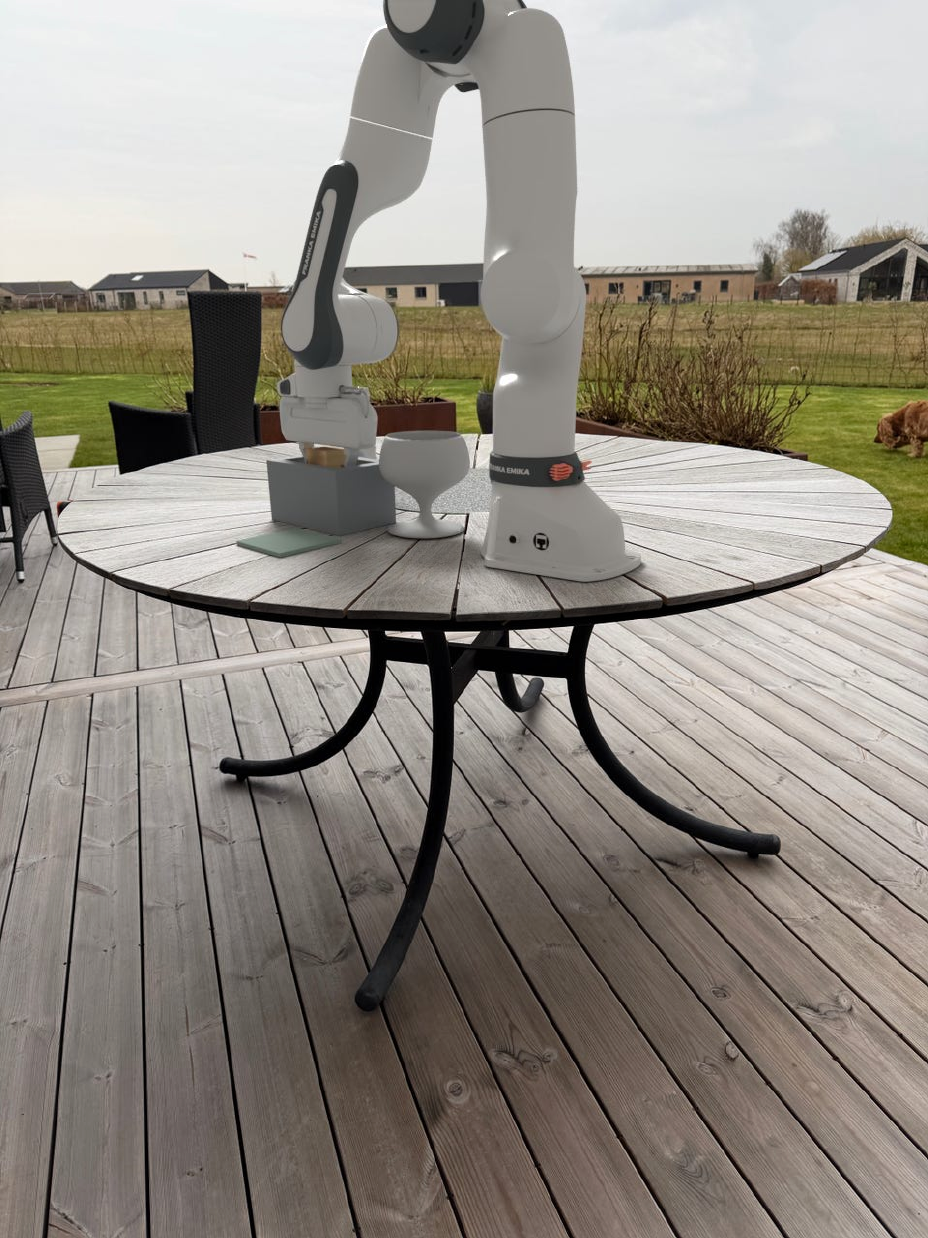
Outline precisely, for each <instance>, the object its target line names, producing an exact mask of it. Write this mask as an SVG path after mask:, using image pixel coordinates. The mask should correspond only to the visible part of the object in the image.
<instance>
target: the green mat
mask: <svg viewBox="0 0 928 1238" xmlns="http://www.w3.org/2000/svg"><path fill="white" fill-rule="evenodd" d="M235 542H236V543H235V544H236V546H240V547H242V548H243V547H244V548H246V549H250V550H254V551H256V552H261V553H262V554H263V553H264V554H266V555H267V554H268V555H271V556H273V557H278V558H284V557H288V556H291V555H297V554H301V553H305V552H309V551H314V550H317V549H321V548H325V547H329V546H333V545H338V544H342V538H341V537H340V538H339V537H335V536H331V535H328V534H323V533H319V532H315V531H310V530H307V529H303V528H301V527H300V528H298V527H295V528H290V529H285V530H281V531H275V532H271V533H266V534H263V535H257V536H253V537H248V538H244V539H238V540H236V541H235Z"/></svg>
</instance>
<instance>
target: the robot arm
mask: <svg viewBox="0 0 928 1238" xmlns="http://www.w3.org/2000/svg"><path fill="white" fill-rule="evenodd" d="M382 9H383V18H384V21H385V24H384V25H382V26H380V27H378V28H377V29H375V30H374V31H373V32H372V33H371V34H370V36H369V38H368V40H367V42H366V45H365V48H364V52H363V54H362V59H361V62H360V65H359V69H358V73H357V78H356V82H355V86H354V92H353V97H352V103H351V108H350V114H349V115H350V116H349V121H348V127H347V133H346V136H345V140H344V142H343V145H342V147H341V148H342V149H341V150H340V153H339V155H338V157H337V159H336V160H335V162H334V164H332V165H331V166H330V167H329V168H328V169H327V170H326V172H324V174H323V177H322V179H321V182H320V185H319V188H318V191H317V194H316V199H315V202H314V205H313V207H312V208H313V209H312V212H311V216H310V221H309V224H308V225H309V226H308V230H307V233H306V238H305V242H304V245H303V250H302V253H301V258H300V262H299V266H298V270H297V274H296V278H295V280H294V281H293V283H292V288H291V292H290V295H289V298H288V300H287V301H286V305H285V307H284V310H283V311H282V312H283V313H282V315H281V316H282V317H281V322H280V333H281V338H282V341H283V344H284V346H285V347H286V348H285V349H287V351H288V353H289V354H290V356H291V357H292V358H293V359H294V362H293V364H294V365H293V366H294V373H292V374H290V375H288V376H287V377H285V378H283V379H281V380H279V381H277V383H276V390H277V394H278V395H279V396H280V397H281V398H280V400H279V418H280V419H279V420H280V427H281V432H282V434H283V437H284V438H285V440H286V441H290V442H291V441H292V442H298V449H299V451H300V453H301V455H303V457H304V459H305V463H307V464H308V462H307V449H309V448H315V445H321V446H336V447H343V448H344V454H345V455H346V459H345V463H344V464H342V465H341V468H343V467H349V466H355V464H356V462H357V460H358V457H359V455H360V449H367V448H372V447H373V446H374V444H375V442H376V443H377V431H376V430H375V422H374V416H373V411H372V407H371V405H372V404H371V400H370V398H369V396H368V395H367V394H366V392H365V391H364V390H363V388H361V387H360V386H353V376H352V373H353V372H352V366H354V365H355V366H356V365H360V364H363V365H365V364H374V363H378V362H382V361H386V360H387V359H389V358H390V356H392V354H393V353H394V352H395V349H396V348H397V345H398V342H399V336H400V325H399V321H398V317H397V316H398V315H397V314H396V312H395V310H394V308H393V307H392V305H391V304H390V302H388V301H387V300H386V299H384V298H382V297H378V296H375V295H372V294H369V293H367V292H364V291H362V290H360V289H358V288H355V287H354V286H352V285H351V284H349V283H348V282H347V281H346V280H345V278H344V277H343V276H344V271H345V269H346V264H347V260H348V257H349V253H350V248H351V244H352V242H353V239H354V237H355V235H356V233H357V230H358V229H359V228H360V227H361V226H362V224H364V222H365V221H367V220H368V219H369V218H371V217H372V216H374V215H376V214H378V213H380V212H381V211H384V210H386V209H389V208H391V207H394V206H397V205H399V204H401V203H403V202H404V201H406V200H407V199H408V198H410V197H411V196H413V194H414V193H415V192H416V191H418V189H420V187H421V185H422V182H423V180H424V178H425V176H426V172H427V170H428V166H429V163H430V157H431V152H432V151H431V150H432V145H433V144H432V143H433V138H434V131H435V126H436V118H437V114H438V109H439V105H440V102H441V100H442V97H443V96H444V95H445V93H446V92H447V91H448V90H449V89H450V88H452V87H453V86H454V87H455V88H456V89H457V91H459V92H461V93H468V92H473V91H477V90H479V97H480V106H481V107H480V108H481V109H480V110H481V124H482V125H481V126H482V143H483V157H484V159H483V160H484V172H485V173H484V174H485V190H486V192H485V193H486V214H485V215H486V216H485V217H486V218H485V229H484V240H483V241H484V242H483V243H484V246H483V270H482V272H483V273H482V274H483V275H482V276H483V277H482V283H481V287H480V302H481V303H480V304H481V307H482V310H483V313H484V315H485V318H486V320H487V321H488V322H489V324H490V326H491V327H492V328H493V329H494V330H495V332H496V333H498V335H500V336H501V344H500V353H499V362H498V368H497V374H496V379H495V384H494V387H493V392H492V393H493V394H492V451H491V452H490V453H489V463H488V468H489V470H488V471H489V479H490V483H491V491H490V492H491V495H490V504H489V512H488V519H487V525H486V530H485V535H484V539H483V542H482V543H483V544H482V546H481V549H480V554H481V556H482V557H483V558H484V561H483V565H484V566H485V567H488V568H492V569H493V568H494V569H499V570H506V571H513V572H520V573H526V574H533V575H540V576H545V577H550V578H557V579H563V580H569V581H577V582H585V583H586V582H596V581H602V580H608V579H611V578H616V577H618V576H621V575H624V574H626V573H629V572H631V571H634V570H635V569H637V568H638V567H639V566H640V565H641V564H642V561H641V560H642V559H641V558H642V557H641V556H642V555H641V554H640V553H639V552H635V551H633V550H628V549H626V540H625V530H624V525H623V521H622V518H621V517H620V515H619V513H617V512H616V511H615V510H614V509H612V508H611V507H610V505H608V504H607V503H606V502H605V501H604V500H603V498H601V497H600V496H599V495H598V494H597V493H596V492H595V491H594V490H593V489H592V488H591V487H590V486H589V485H588V484H587V483H586V482H585V480H586V478H585V474H584V472H585V471H589V470H591V469H592V467H591V466H590V467H588V465H590V464H591V463H592V462H593V461H592V460H586V461H581V459H580V458H579V456H578V453H577V452H576V451H575V450H576V449H575V447H576V421H577V400H578V385H579V378H580V371H581V370H580V369H581V362H582V351H583V342H584V332H585V321H586V320H585V319H586V318H585V317H586V306H587V291H586V289H587V288H586V285H585V282H584V279H583V277H582V275H581V273H580V272H579V270H578V269H577V268H576V266H575V263H574V262H575V253H574V252H575V228H576V226H575V225H576V210H577V208H576V207H577V197H578V169H577V168H578V165H577V164H578V163H577V138H576V136H577V135H576V113H575V111H576V110H575V109H576V107H575V95H574V94H575V93H574V86H573V85H574V84H573V83H574V82H573V76H572V75H573V74H572V68H571V63H570V62H571V61H570V56H569V51H568V45H567V42H566V41H567V40H566V36H565V33H564V29H563V27H562V25H561V24H560V22H559V20H557V18H556V17H555V16H553V15H552V14H550V13H549V12H548V11H544V10H542V9H537V8H531V7H527V5H526V4H525V1H523V0H382ZM362 393H363V394H364V395H362Z"/></svg>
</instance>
